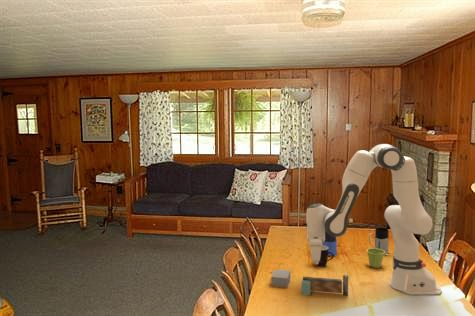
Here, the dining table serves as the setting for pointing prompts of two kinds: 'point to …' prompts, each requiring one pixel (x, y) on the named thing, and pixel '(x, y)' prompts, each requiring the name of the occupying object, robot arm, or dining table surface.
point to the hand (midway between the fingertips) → (316, 263)
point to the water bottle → (330, 244)
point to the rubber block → (280, 278)
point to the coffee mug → (324, 256)
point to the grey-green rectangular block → (306, 287)
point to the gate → (325, 284)
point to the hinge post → (345, 285)
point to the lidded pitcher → (381, 239)
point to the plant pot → (375, 257)
